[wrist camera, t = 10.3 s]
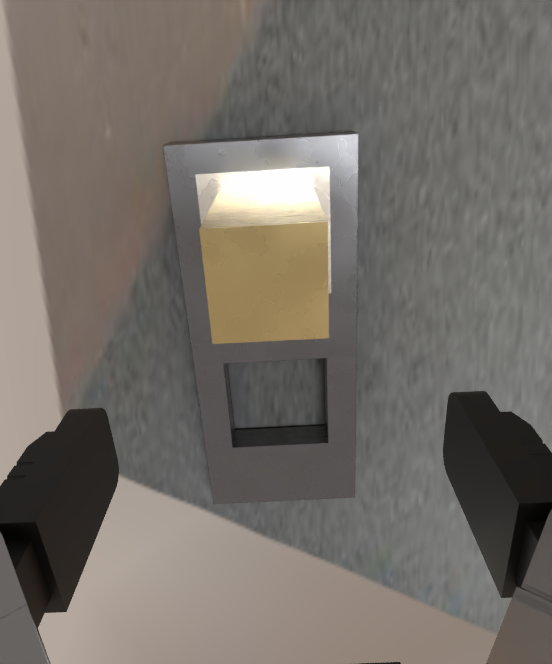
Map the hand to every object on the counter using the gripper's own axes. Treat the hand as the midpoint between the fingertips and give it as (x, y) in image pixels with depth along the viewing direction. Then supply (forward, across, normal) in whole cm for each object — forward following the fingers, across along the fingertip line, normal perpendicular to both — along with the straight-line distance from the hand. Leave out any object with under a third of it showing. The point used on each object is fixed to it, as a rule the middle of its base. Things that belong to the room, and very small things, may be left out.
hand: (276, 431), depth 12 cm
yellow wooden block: (+18, 0, 0) cm, 18 cm away
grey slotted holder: (+20, +1, +7) cm, 21 cm away
